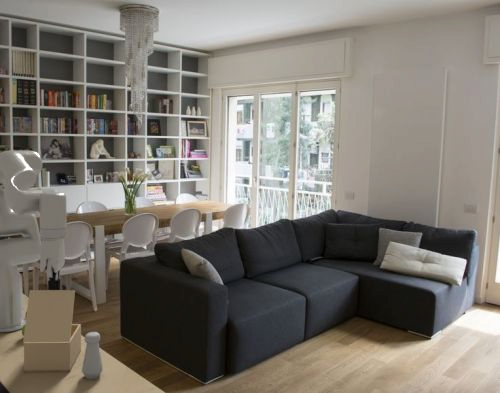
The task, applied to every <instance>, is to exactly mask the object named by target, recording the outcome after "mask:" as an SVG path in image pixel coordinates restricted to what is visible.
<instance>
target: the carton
mask: <svg viewBox="0 0 500 393" xmlns="http://www.w3.org/2000/svg"><path fill="white" fill-rule="evenodd" d="M81 352H82V324H81V323H72V327H71V337H70V342H23V364H24V365H23V367H24V368H23V371H24V373H61V372H62V373H63V372H64V373H65V372H67V373H68V372H69V373H70V372H71V371H72V369H73V367H74V365H75V363H76V362H77V359H78V357H79V356H80V354H81Z"/></svg>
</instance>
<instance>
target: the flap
mask: <svg viewBox="0 0 500 393" xmlns="http://www.w3.org/2000/svg"><path fill="white" fill-rule="evenodd" d="M75 293H76V290H73V289H71V290H70V289H60V290H48V289H30V290H29V292H28V300H27V310H26V312H27V315H26V314H25V315H26V323H25V331H24V336H23V341H22V343H24V342H70V337H71V327H72V324H73V318H74V317H73V315H74V305H75Z"/></svg>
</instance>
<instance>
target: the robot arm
mask: <svg viewBox="0 0 500 393" xmlns="http://www.w3.org/2000/svg"><path fill="white" fill-rule="evenodd" d="M42 169H43V159H42V157H41V156H40V154H39V153H38V152H36V151H34V150H4V151H1V152H0V184H4V188H3V187H1V186H0V237H10V236H19V235H21V236H22V237H15V238H13V237H12V238H8V239H7V238H6V239H0V333H10V332H15V331H18V330H22V328H23V326H24V325H25V323H26V319H25V317H24V307H23V306H24V305H23V299H24V298H23V277H22V274H21V273H20V272H19V271H18V270H17V269H16V268H15V267H16V266H19V265H24V264H25V265H26V264H31V263H36V262H38V261H40V262H39V264H40V265H39V271H40V273H45V272H46V278H47V290H61V269H62V268H63V267H64V266H65V262H66V259H65V258H66V255H65V254H66V253H65V252H66V250H65V249H66V248H65V239H67V237H68V234H67V232H68V226H67V224H68V223H67V221H68V220H67V219H68V218H67V194H65V193H63V192H60V191H57V190H56V189H53V188H43V189H41V188H38V189H37V188H36V189H31V188H32V187H34V185H35V183H36V181H37V176H38V175H39V174H40V173H41V172H42ZM38 214H39V224H38V219H37V216H36V215H38Z"/></svg>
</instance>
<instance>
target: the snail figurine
mask: <svg viewBox="0 0 500 393" xmlns="http://www.w3.org/2000/svg"><path fill="white" fill-rule="evenodd" d="M26 315H27V311H26V312H25V317H24V318H25V319H26ZM24 331H25V325H24V326H23V328H21V334H22V336H23V337H24Z"/></svg>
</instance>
